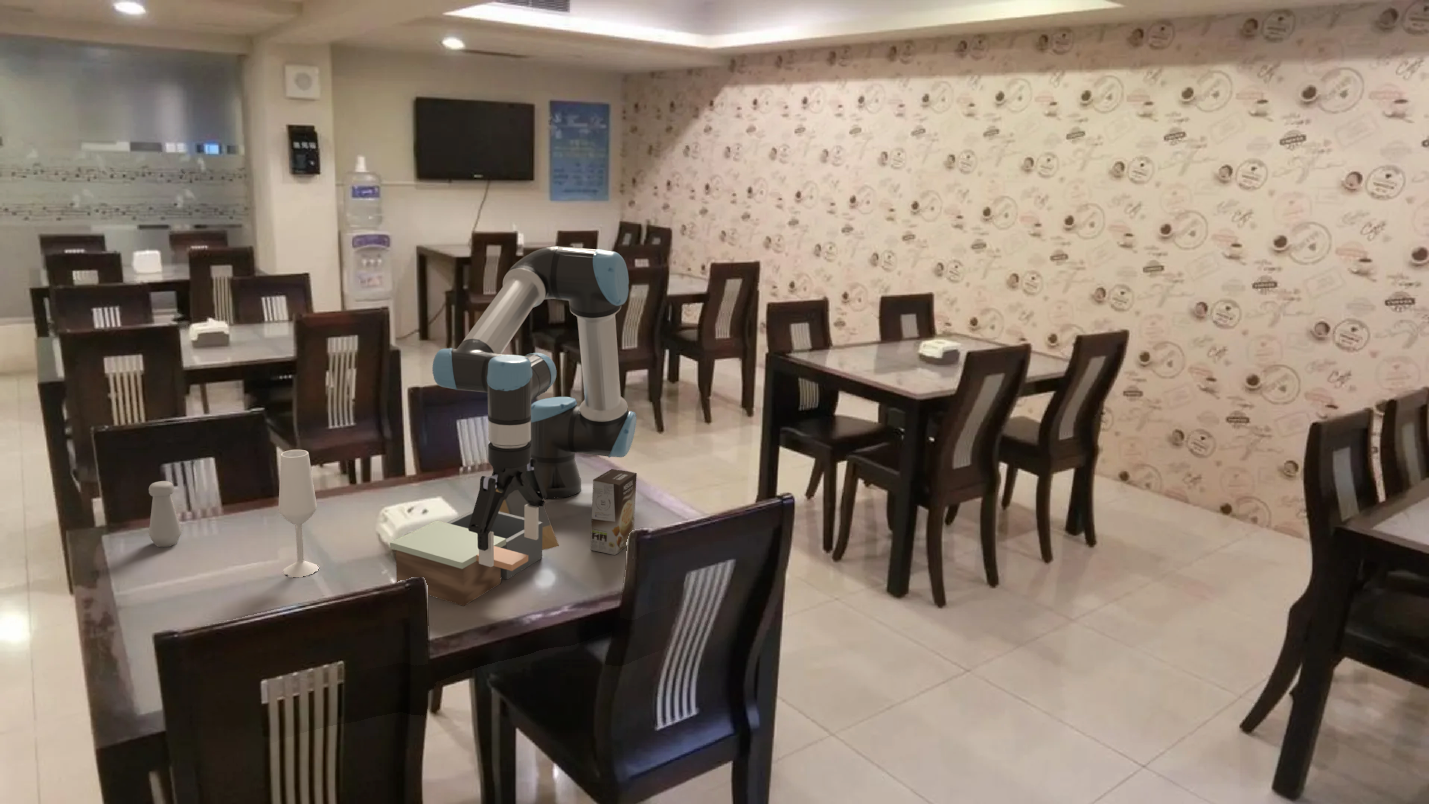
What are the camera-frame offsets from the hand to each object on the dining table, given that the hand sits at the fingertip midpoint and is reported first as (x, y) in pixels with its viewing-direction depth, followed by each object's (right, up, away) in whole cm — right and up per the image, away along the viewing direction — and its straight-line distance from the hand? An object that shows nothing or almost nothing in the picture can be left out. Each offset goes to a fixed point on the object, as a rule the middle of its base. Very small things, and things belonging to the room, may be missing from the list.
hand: (509, 551), depth 169 cm
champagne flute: (-43, -6, +10) cm, 44 cm away
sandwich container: (-3, -3, +32) cm, 32 cm away
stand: (-13, -8, +8) cm, 17 cm away
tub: (-8, -5, +20) cm, 22 cm away
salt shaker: (-74, -1, +18) cm, 76 cm away
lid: (-9, -1, +4) cm, 10 cm away
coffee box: (+16, -4, +30) cm, 34 cm away
